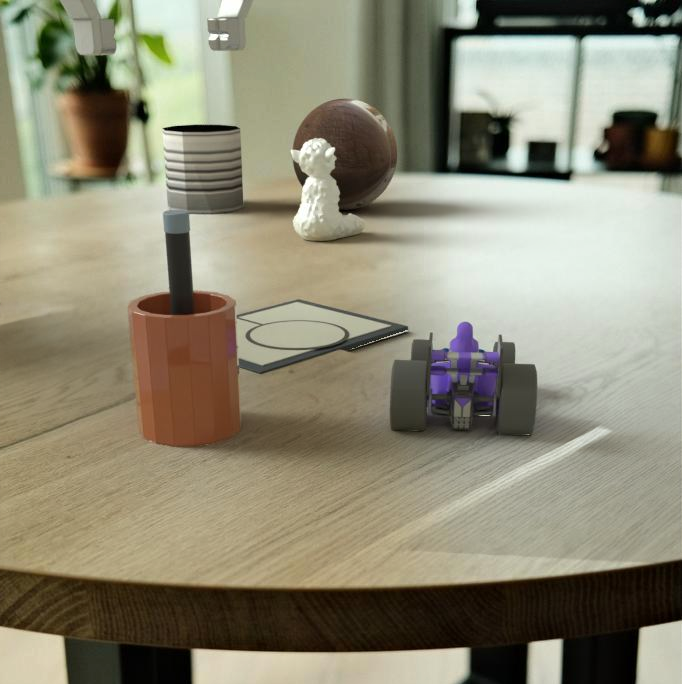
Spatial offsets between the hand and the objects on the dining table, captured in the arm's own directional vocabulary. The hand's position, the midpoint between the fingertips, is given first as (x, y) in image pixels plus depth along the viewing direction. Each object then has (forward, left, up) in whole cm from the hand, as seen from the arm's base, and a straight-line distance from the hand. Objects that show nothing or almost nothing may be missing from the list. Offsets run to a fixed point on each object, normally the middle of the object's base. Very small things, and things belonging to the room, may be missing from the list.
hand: (165, 52), depth 59 cm
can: (-69, +59, -24) cm, 94 cm away
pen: (0, 0, -23) cm, 23 cm away
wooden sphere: (-53, +72, -24) cm, 93 cm away
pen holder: (0, 0, -24) cm, 24 cm away
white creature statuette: (-41, +55, -24) cm, 73 cm away
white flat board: (-12, +20, -24) cm, 33 cm away
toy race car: (+10, +17, -24) cm, 31 cm away
